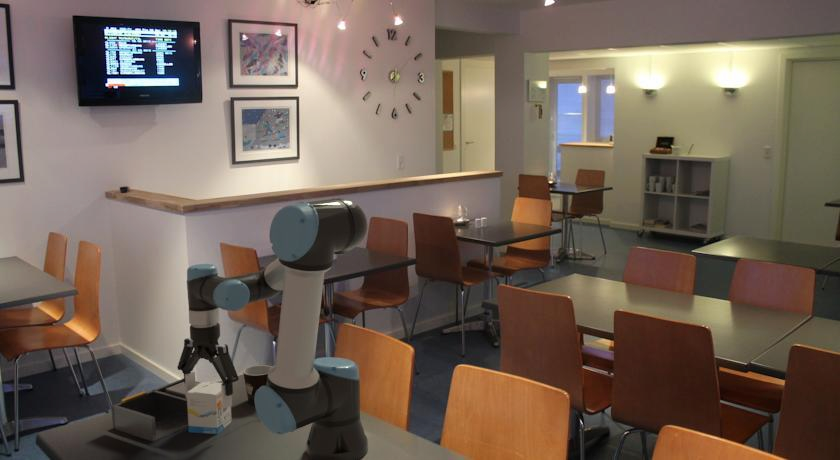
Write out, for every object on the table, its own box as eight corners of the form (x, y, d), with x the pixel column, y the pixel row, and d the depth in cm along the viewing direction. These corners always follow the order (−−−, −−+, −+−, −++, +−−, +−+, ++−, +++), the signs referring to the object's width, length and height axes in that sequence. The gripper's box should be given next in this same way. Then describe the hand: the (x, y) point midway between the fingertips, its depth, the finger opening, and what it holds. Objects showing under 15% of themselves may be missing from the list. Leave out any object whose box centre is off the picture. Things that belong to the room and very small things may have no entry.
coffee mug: (242, 400, 215) (240, 367, 213) (271, 395, 218) (269, 363, 217) (250, 415, 204) (248, 380, 203) (281, 409, 208) (279, 375, 206)
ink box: (217, 437, 190) (215, 394, 188) (188, 435, 192) (185, 392, 190) (232, 423, 198) (230, 382, 197) (204, 421, 200) (201, 380, 198)
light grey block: (209, 408, 207) (207, 384, 206) (186, 418, 200) (185, 394, 199) (189, 403, 211) (188, 379, 210) (167, 412, 204) (165, 388, 203)
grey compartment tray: (224, 412, 206) (222, 386, 205) (153, 444, 186) (151, 416, 185) (184, 400, 215) (183, 376, 214) (112, 431, 195) (110, 403, 194)
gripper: (250, 327, 187) (253, 406, 191) (183, 313, 200) (187, 387, 204) (228, 334, 181) (232, 416, 184) (160, 320, 194) (165, 396, 197)
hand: (208, 401), depth 194 cm, fingers open, 13 cm apart
